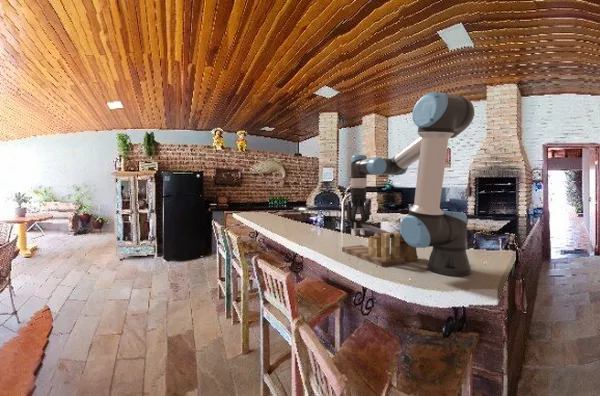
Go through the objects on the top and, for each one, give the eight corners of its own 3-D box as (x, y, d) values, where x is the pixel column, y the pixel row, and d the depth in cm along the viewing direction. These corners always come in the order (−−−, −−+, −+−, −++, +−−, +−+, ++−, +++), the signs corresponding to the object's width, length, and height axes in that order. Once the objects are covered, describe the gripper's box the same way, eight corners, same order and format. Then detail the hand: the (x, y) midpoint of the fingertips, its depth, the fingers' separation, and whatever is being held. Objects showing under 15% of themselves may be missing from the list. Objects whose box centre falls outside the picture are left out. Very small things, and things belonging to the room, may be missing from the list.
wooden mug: (427, 258, 135) (427, 218, 135) (411, 263, 127) (411, 220, 126) (409, 254, 142) (409, 216, 141) (392, 259, 134) (393, 219, 133)
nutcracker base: (404, 263, 127) (405, 232, 126) (381, 266, 122) (382, 234, 121) (361, 248, 154) (362, 223, 153) (341, 251, 149) (342, 225, 148)
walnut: (384, 241, 132) (384, 232, 132) (377, 242, 130) (377, 233, 130) (378, 240, 136) (378, 231, 135) (371, 241, 134) (371, 232, 134)
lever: (395, 240, 126) (396, 231, 125) (387, 241, 124) (388, 231, 123) (358, 225, 150) (359, 217, 149) (351, 226, 148) (351, 218, 147)
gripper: (368, 186, 152) (367, 232, 154) (339, 187, 145) (338, 235, 146) (378, 187, 145) (377, 234, 147) (347, 187, 138) (347, 237, 140)
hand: (357, 234), depth 147 cm, fingers closed on lever, 4 cm apart
